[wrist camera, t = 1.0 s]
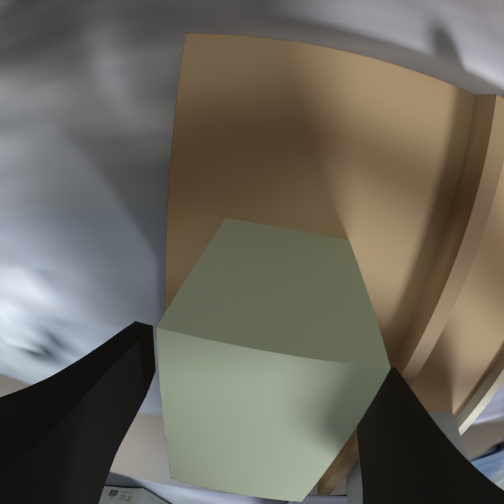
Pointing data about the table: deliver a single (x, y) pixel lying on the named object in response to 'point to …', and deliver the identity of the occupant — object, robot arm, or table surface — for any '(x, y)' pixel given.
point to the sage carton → (267, 361)
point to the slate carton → (444, 423)
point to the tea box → (129, 496)
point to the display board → (355, 196)
